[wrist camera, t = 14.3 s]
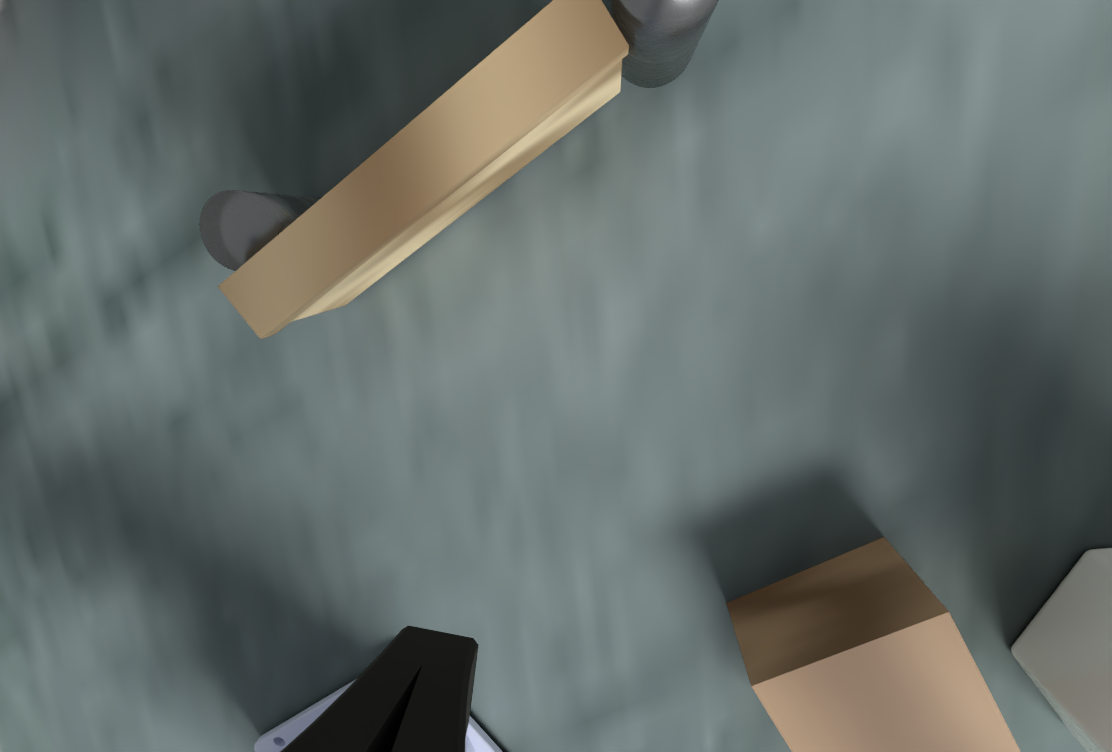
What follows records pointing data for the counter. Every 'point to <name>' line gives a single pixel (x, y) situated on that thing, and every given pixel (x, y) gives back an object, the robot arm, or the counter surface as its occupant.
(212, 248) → the post
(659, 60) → the hinge post
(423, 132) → the gate
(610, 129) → the counter surface
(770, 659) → the block
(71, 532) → the counter surface
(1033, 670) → the jar
